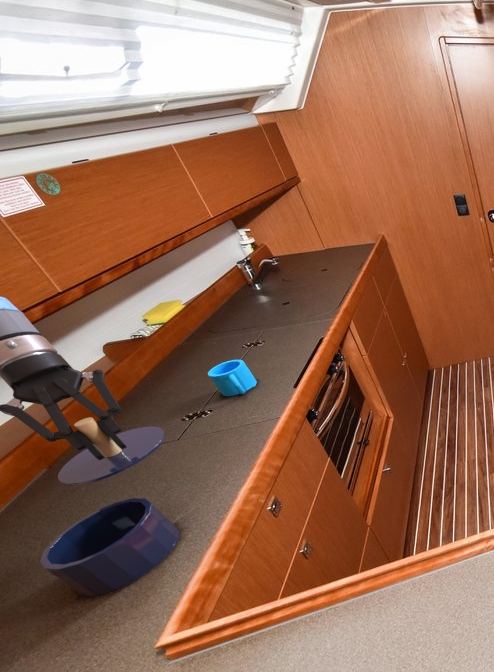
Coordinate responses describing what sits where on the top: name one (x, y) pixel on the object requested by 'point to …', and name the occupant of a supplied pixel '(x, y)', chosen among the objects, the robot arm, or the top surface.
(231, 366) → the mug
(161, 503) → the top surface
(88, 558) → the pot
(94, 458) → the lid
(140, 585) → the top surface
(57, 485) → the top surface
